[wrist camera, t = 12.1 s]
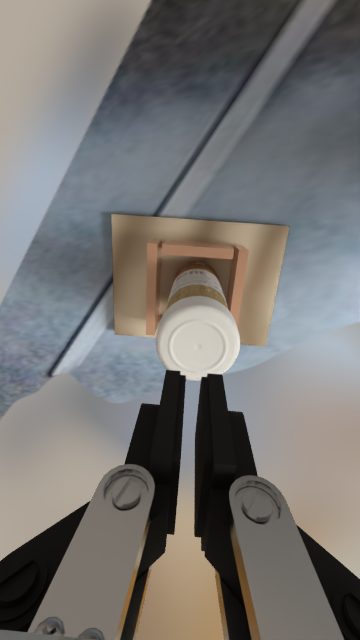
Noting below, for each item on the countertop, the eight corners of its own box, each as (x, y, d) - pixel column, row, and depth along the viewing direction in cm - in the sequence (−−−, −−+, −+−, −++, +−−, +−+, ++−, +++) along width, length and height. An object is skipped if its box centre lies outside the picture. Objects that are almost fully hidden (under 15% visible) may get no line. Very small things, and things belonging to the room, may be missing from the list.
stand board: (285, 225, 26) (289, 226, 25) (263, 341, 30) (265, 346, 29) (115, 213, 26) (111, 214, 25) (117, 329, 31) (114, 334, 30)
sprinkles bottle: (172, 304, 28) (154, 381, 15) (173, 259, 26) (154, 304, 14) (218, 307, 28) (236, 386, 15) (222, 261, 26) (246, 308, 14)
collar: (242, 245, 25) (249, 250, 22) (230, 327, 29) (235, 342, 25) (153, 238, 26) (147, 243, 22) (151, 320, 29) (145, 335, 26)
